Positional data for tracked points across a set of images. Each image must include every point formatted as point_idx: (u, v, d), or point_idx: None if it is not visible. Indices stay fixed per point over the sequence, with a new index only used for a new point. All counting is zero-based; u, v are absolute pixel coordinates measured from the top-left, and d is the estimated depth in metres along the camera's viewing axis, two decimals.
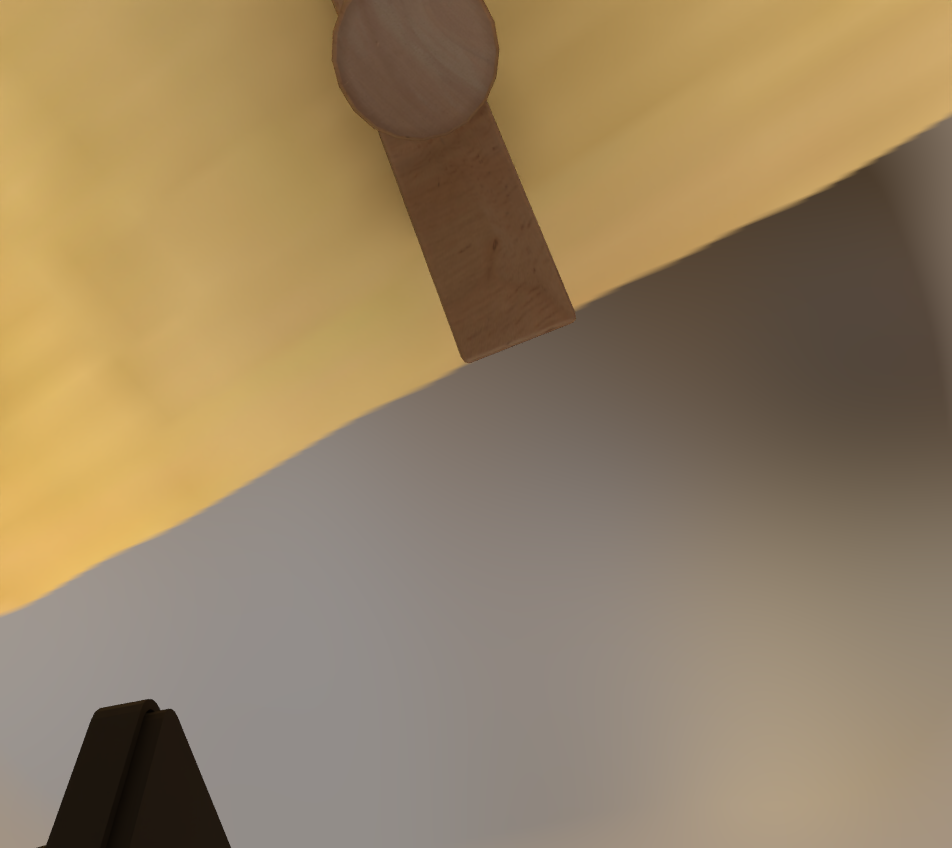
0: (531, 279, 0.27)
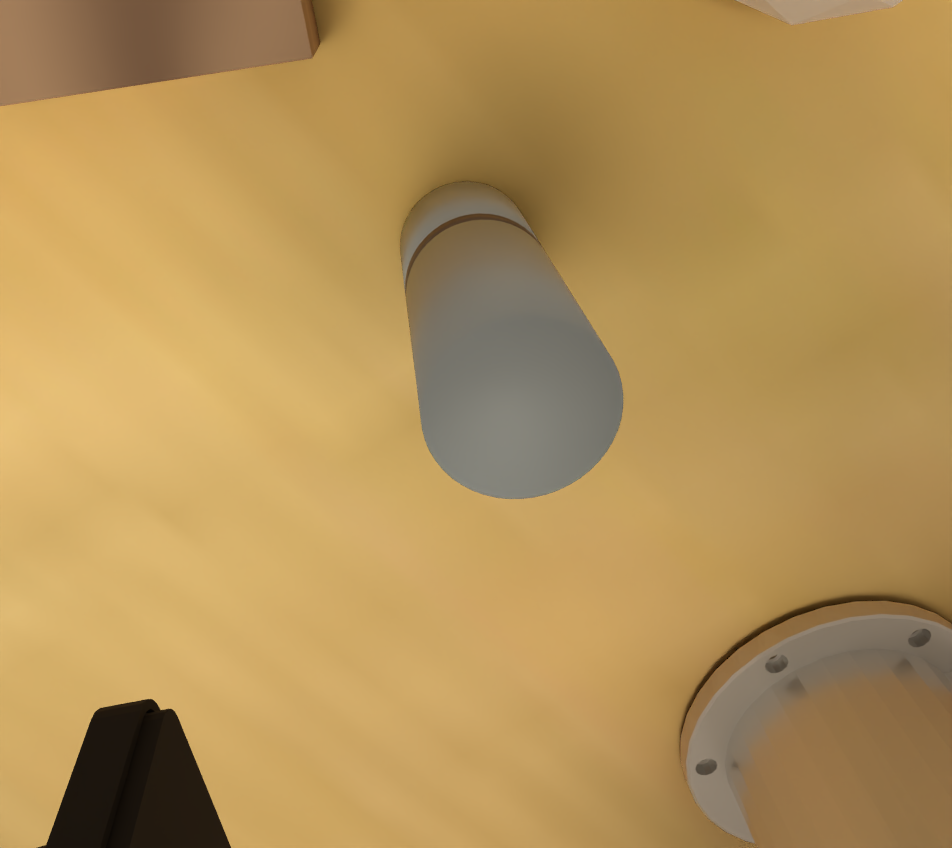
0: None
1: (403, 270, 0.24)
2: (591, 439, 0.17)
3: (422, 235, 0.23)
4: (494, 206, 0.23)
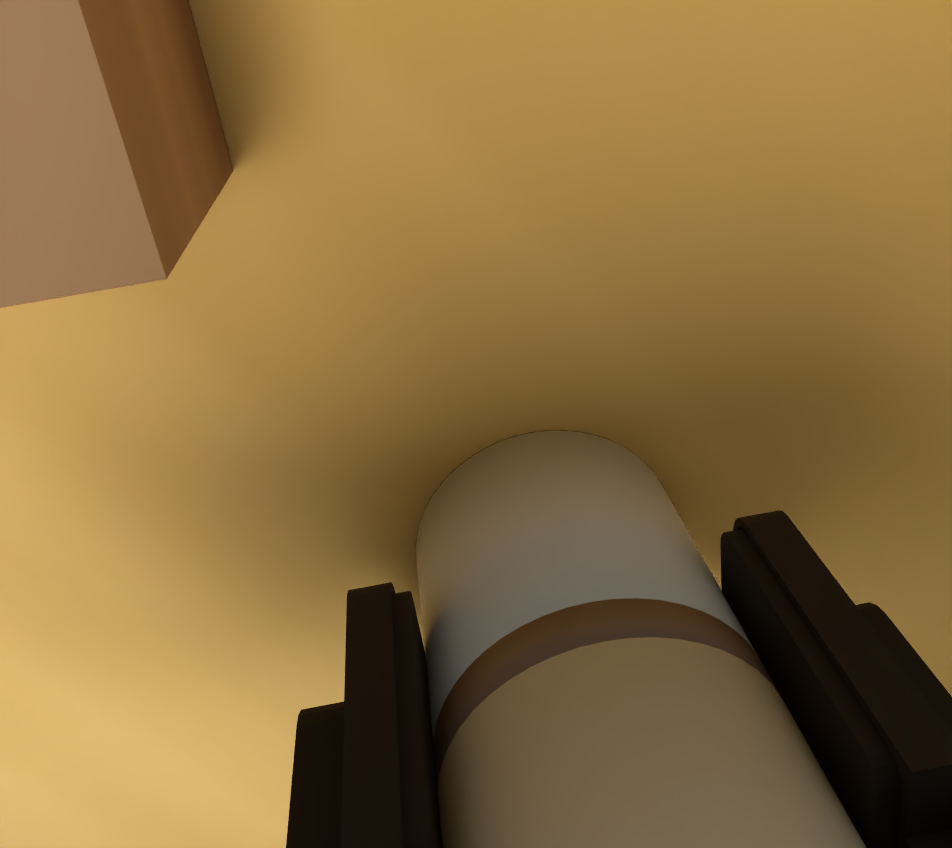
0: None
1: None
2: None
3: (473, 632, 0.10)
4: (637, 548, 0.10)
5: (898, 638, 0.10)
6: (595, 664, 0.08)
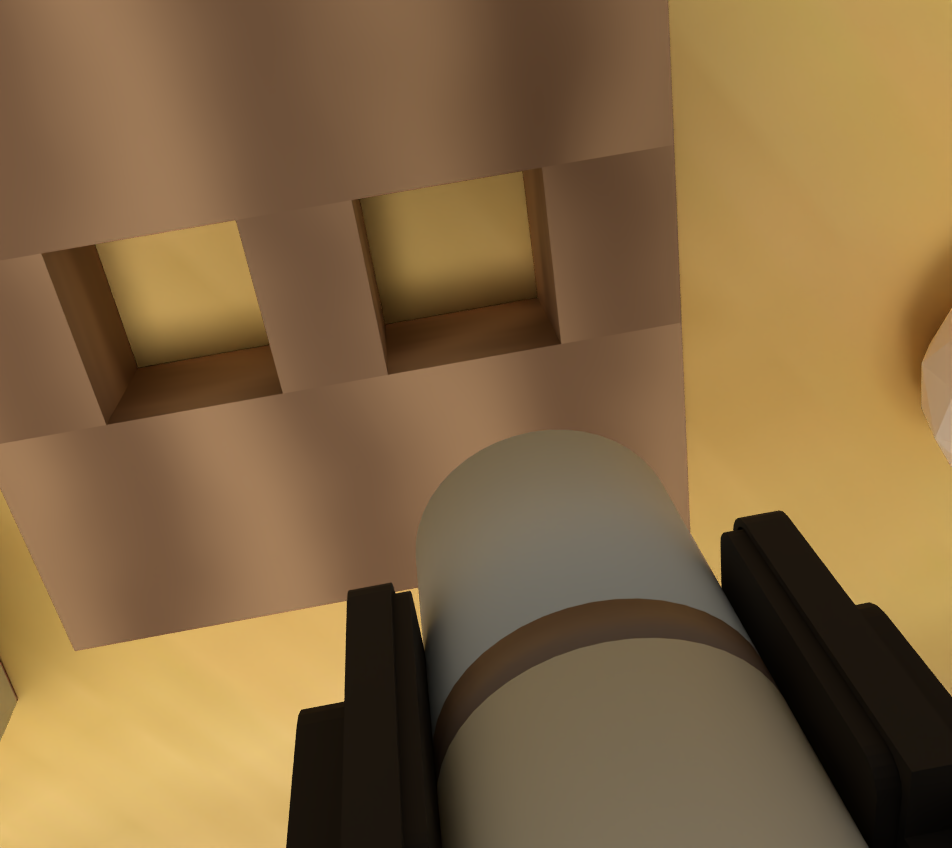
0: None
1: (426, 671, 0.11)
2: None
3: (473, 633, 0.10)
4: (638, 547, 0.10)
5: (898, 638, 0.10)
6: (596, 665, 0.08)
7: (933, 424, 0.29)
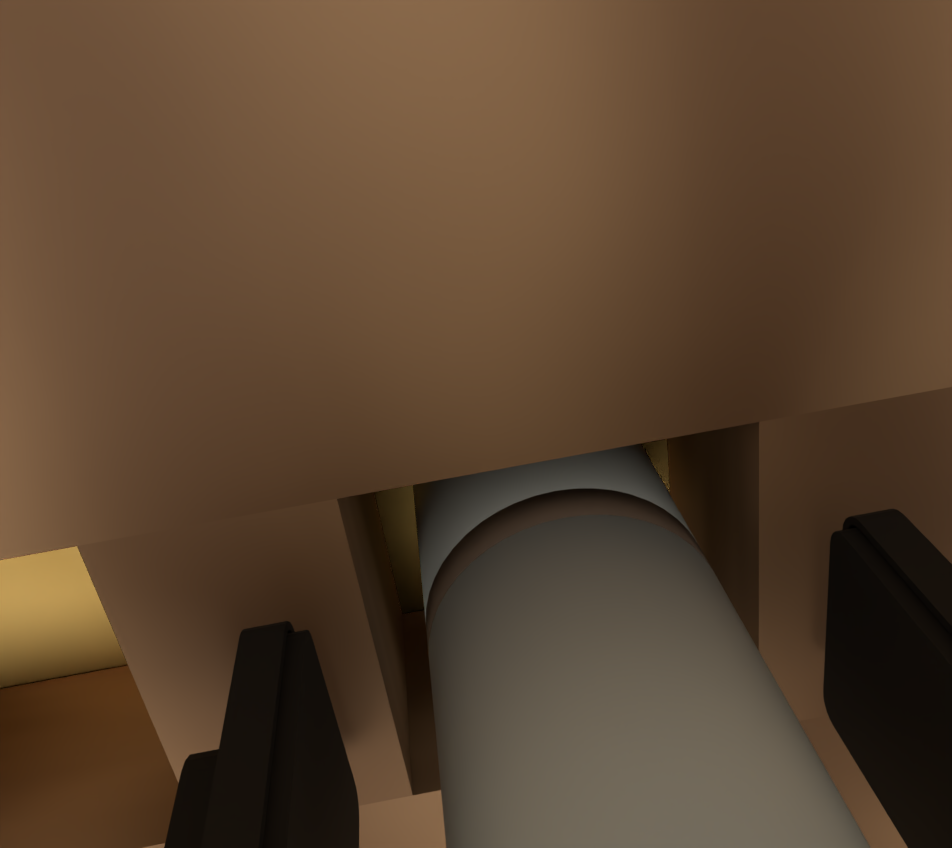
0: None
1: (420, 562, 0.13)
2: None
3: (459, 521, 0.12)
4: (597, 454, 0.12)
5: None
6: (556, 533, 0.10)
7: None
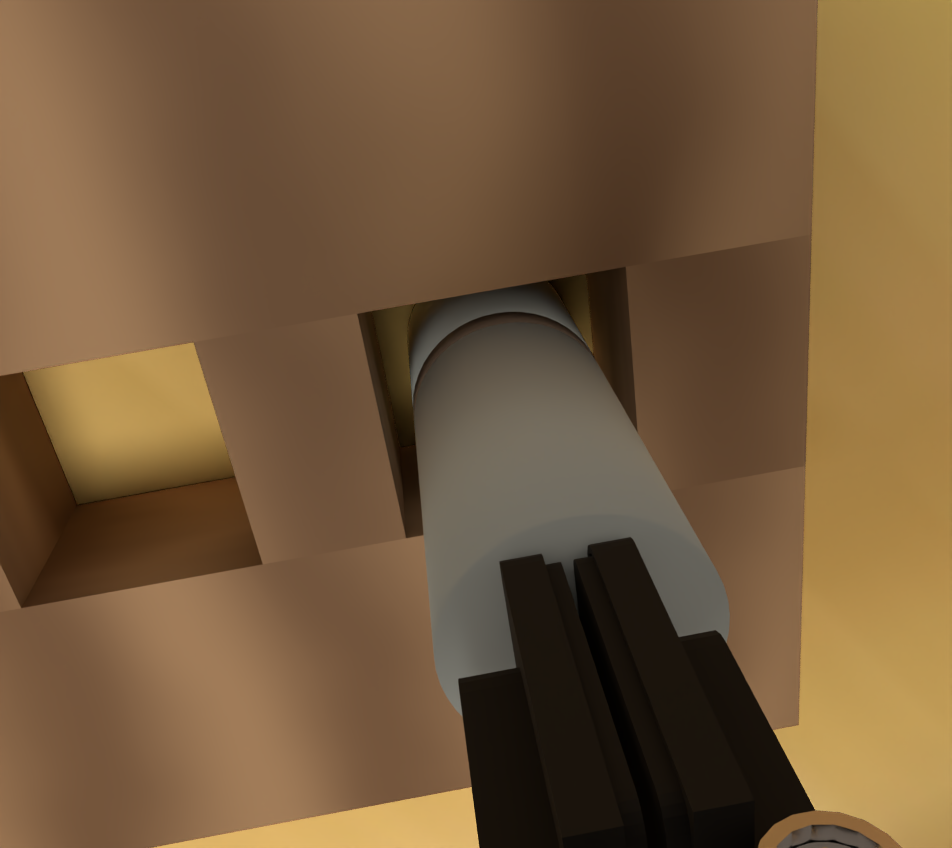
0: None
1: (411, 378, 0.19)
2: None
3: (434, 338, 0.18)
4: (527, 298, 0.18)
5: (732, 667, 0.10)
6: (493, 330, 0.16)
7: None
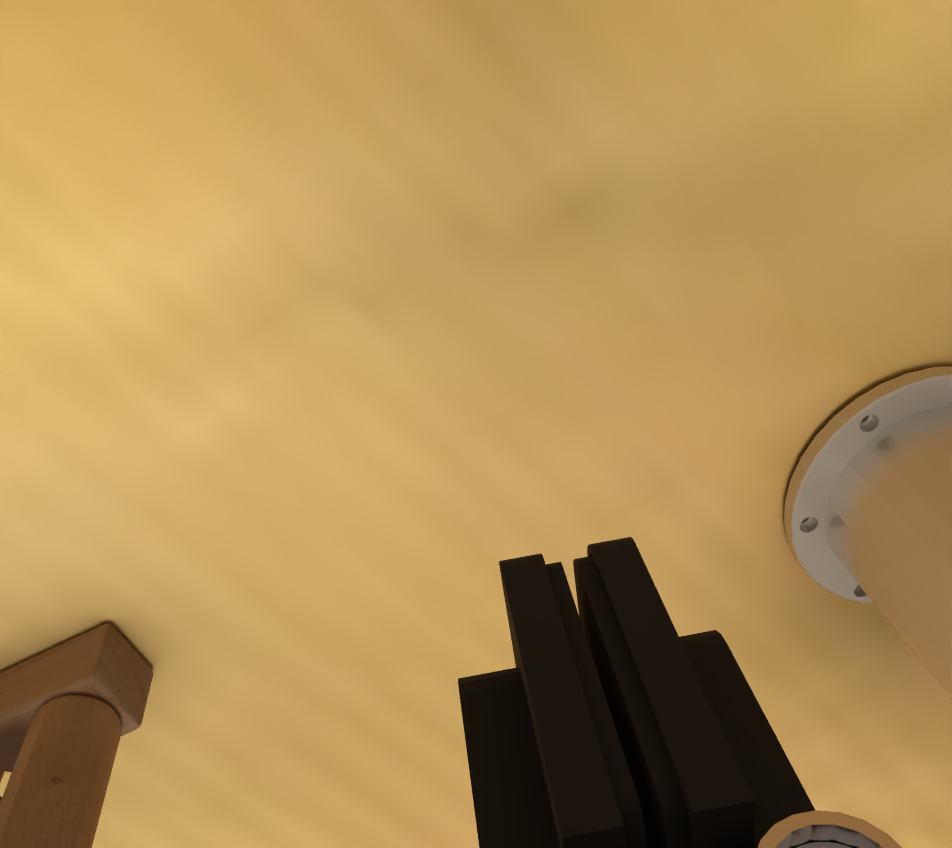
0: None
1: None
2: None
3: None
4: None
5: (733, 667, 0.10)
6: None
7: None
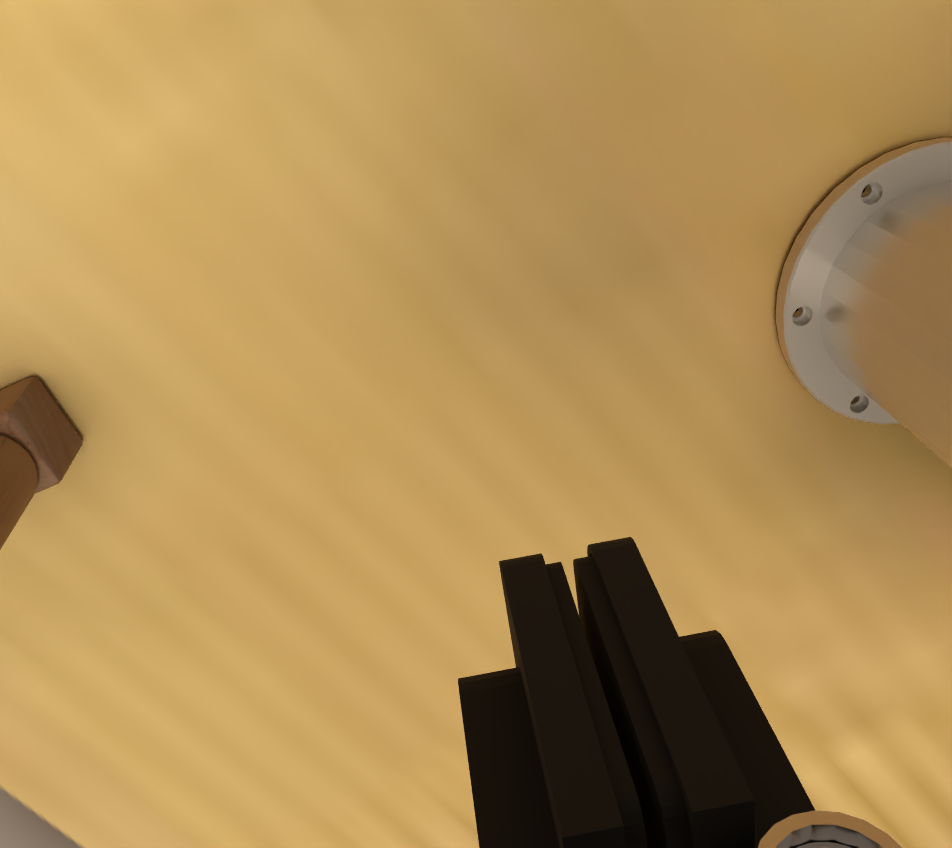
0: None
1: None
2: None
3: None
4: None
5: (732, 668, 0.10)
6: None
7: None
